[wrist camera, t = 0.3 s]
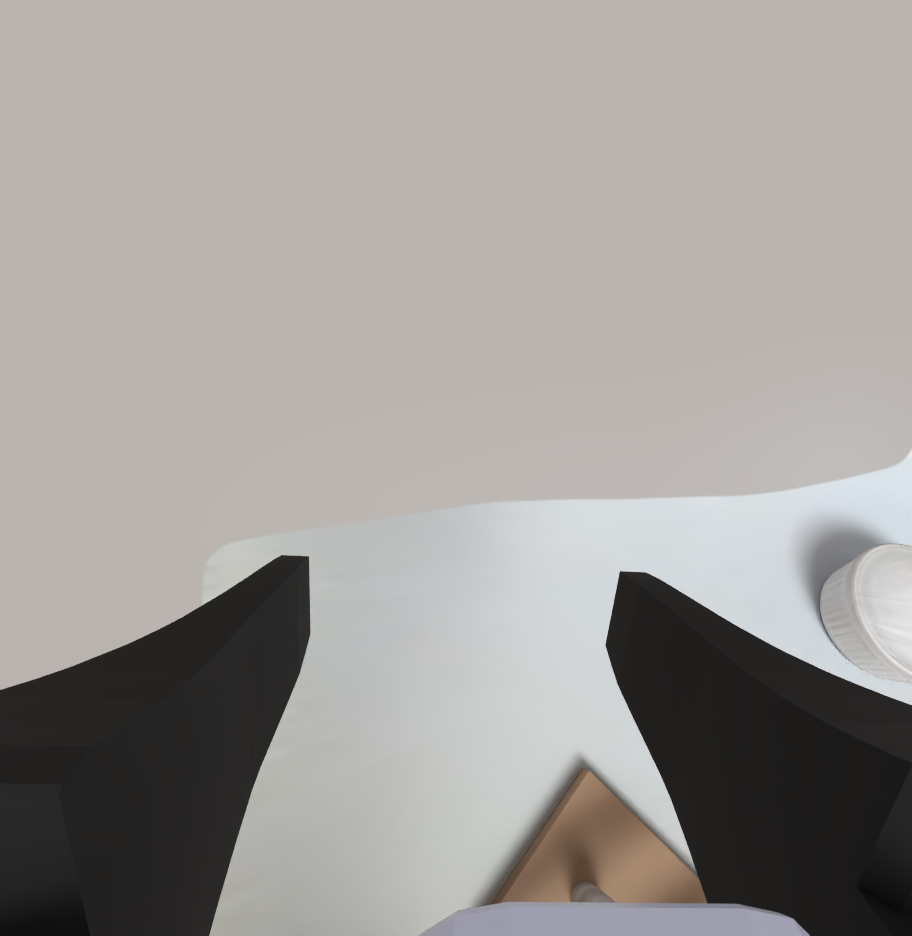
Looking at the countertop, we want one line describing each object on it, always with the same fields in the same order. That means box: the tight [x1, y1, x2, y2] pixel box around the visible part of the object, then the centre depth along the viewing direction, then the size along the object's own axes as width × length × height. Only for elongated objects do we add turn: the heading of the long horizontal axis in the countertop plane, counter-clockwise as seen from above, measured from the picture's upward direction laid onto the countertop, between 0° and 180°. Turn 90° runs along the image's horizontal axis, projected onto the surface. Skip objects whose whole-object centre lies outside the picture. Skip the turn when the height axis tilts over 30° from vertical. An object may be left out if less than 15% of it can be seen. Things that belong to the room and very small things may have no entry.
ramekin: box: [820, 543, 912, 683], centre depth 43 cm, size 11×11×5 cm
